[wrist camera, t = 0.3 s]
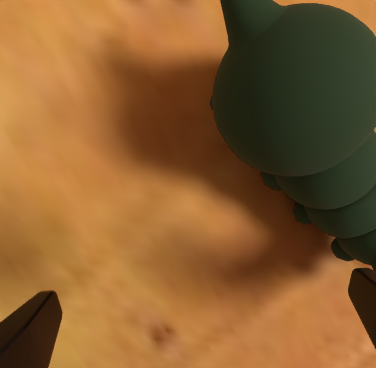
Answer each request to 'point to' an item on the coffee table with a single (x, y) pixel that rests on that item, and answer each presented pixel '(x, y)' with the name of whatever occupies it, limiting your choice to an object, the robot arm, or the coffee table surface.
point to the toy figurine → (305, 112)
